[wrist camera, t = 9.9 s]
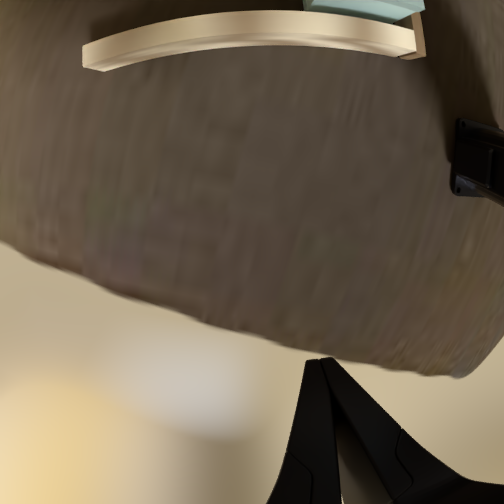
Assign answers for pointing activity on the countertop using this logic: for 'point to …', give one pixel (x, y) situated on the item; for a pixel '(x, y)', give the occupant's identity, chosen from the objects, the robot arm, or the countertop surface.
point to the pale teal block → (367, 8)
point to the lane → (247, 36)
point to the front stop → (414, 24)
